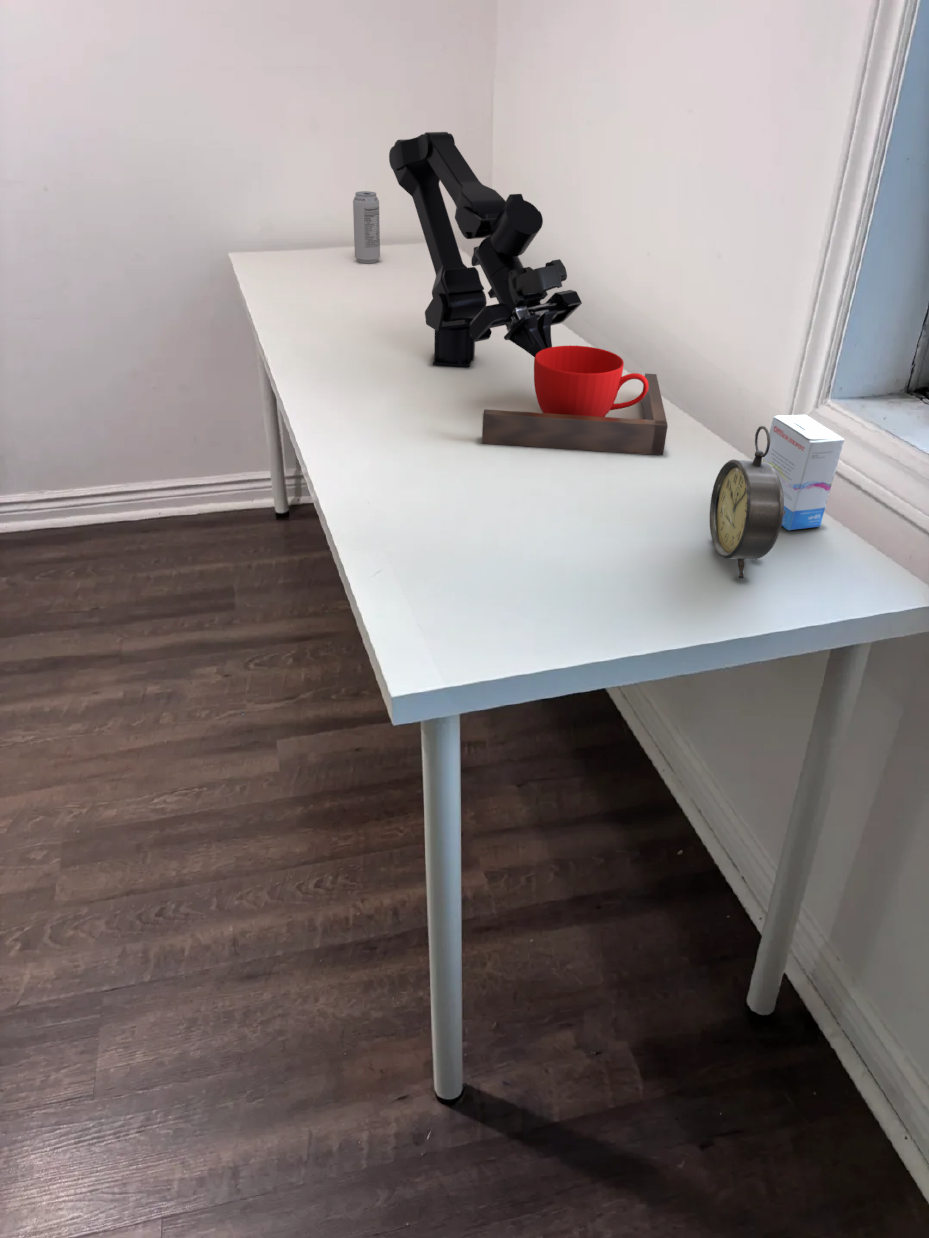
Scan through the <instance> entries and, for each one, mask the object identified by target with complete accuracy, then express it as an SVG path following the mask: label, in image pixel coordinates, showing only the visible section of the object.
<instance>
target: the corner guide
mask: <svg viewBox="0 0 929 1238" xmlns="http://www.w3.org/2000/svg"><path fill="white" fill-rule="evenodd" d="M644 376H645V378H646V379H647V381H648V391H647V393H646V395H645V397H644V398H643V399H642V400H641V401H640V402H641V407H642V412H643V418H628V417H611V416H605V417H598V416H582V415H566V414H551V413H543V412H531V411H518V410H504V409H503V410H501V409H487V408H486V409H485V408H484V409H483V412H482V427H481V444H482V445H483V444H485V445H486V444H487V445H498V446H514V447H530V448H545V449H559V450H575V451H593V452H604V453H605V452H606V453H621V454H635V455H636V454H637V455H648V456H649V455H651V456H664V453H665V446H666V439H667V433H668V421H667V415H666V411H665V408H664V403H663V398H662V394H661V389H660V385H659V380H658V376H657V373H646V372H645V373H644ZM643 388H644V385H643V384H642V389H643Z"/></svg>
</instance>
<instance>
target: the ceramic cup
mask: <svg viewBox="0 0 929 1238" xmlns="http://www.w3.org/2000/svg"><path fill="white" fill-rule="evenodd" d="M624 364H625V363H624V359H623V358H622V357H621V356H620V355H617V354H616V353H614V352H611V351H609V350H605V349H602V348H598V347H593V346H584V345H557V346H552V347H550V348H546V349H543V350H541V351H539V352H538V353H537V354H536V356H535V357H534V359H533V384H534V392H535V396H536V401H537V404H538V407H539V408H540V410H541V413H551V414H566V415H582V416H598V417H607V415H608V414H609V412H610V411H616V410H621V409H626V408H630V407H632V406H635V405H636V404H638V403H640V402H641V400H642V399H643V398H644V397H645V395H646V393H647V391H648V381H647V379H646V378H645V375H643V374H642V373H637V372H633V373H632V372H631V373H627V374H625V375H623V371H624V366H625V365H624ZM630 380H638V381H640V382H641V383H642V386H643V385H644V388H643V387H642V391H641V392H640V393H639V395H637V396H636V397H635V398H633V399H631V400H628V401H624V402H620V403H616V402H615V401H616V400H617V397H618V395H619V394H618V393H619V391H620V389H621V388H622V386H623V385H624V384H625V383H626V382H629V381H630Z"/></svg>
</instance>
